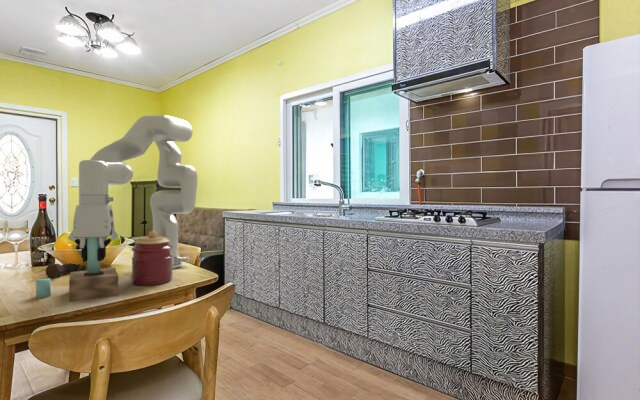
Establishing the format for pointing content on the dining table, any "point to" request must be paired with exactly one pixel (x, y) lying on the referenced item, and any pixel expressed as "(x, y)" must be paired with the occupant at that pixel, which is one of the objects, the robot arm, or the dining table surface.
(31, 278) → the dining table surface
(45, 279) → the short dowel
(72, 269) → the bolt
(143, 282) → the canister
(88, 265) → the tall dowel
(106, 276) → the socket block
